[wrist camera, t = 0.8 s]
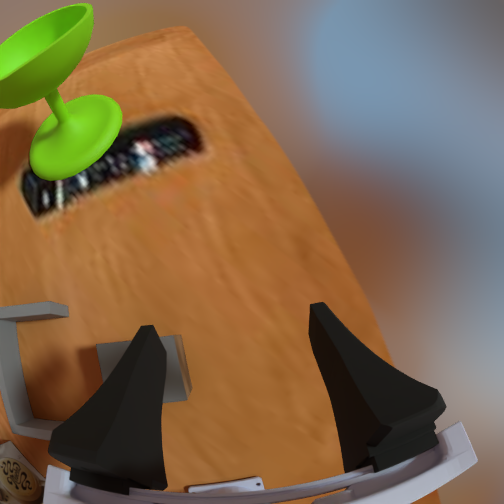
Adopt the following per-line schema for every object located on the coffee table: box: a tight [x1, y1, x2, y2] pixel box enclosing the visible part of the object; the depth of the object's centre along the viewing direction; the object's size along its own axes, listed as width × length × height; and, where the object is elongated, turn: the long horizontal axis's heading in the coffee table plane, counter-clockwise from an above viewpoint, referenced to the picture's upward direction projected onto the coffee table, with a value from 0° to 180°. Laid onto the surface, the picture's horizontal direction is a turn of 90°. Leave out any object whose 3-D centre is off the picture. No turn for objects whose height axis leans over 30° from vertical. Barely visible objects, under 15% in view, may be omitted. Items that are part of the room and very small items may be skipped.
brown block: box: [96, 335, 192, 403], centre depth 22 cm, size 6×7×5 cm
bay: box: [0, 301, 69, 440], centre depth 20 cm, size 14×10×4 cm
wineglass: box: [0, 3, 122, 181], centre depth 22 cm, size 16×16×18 cm
